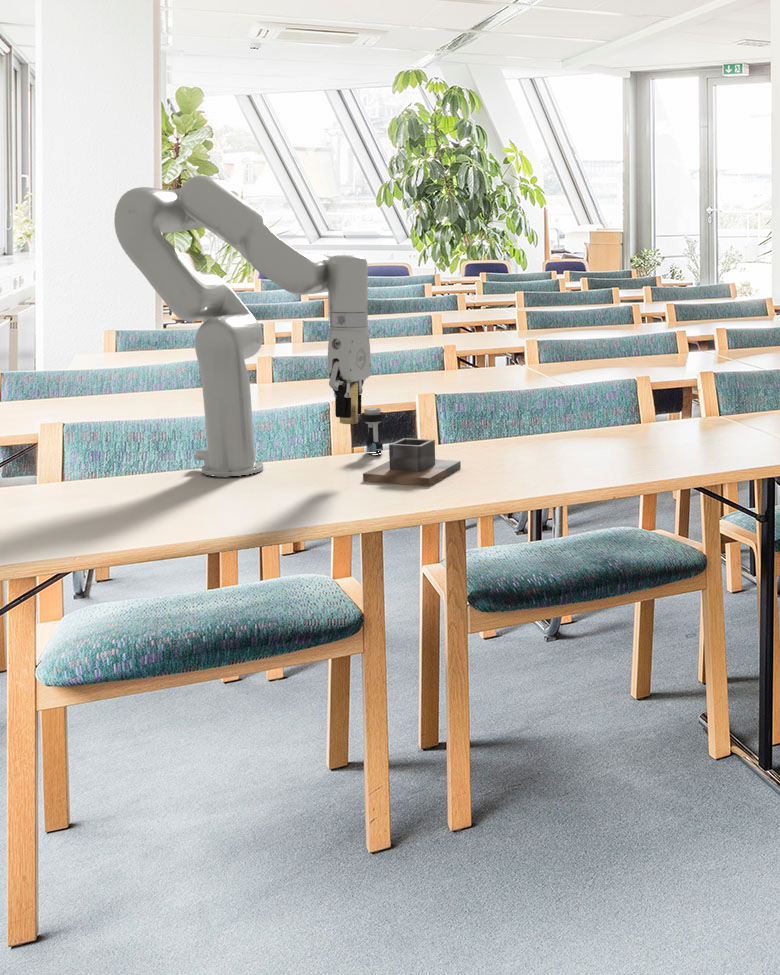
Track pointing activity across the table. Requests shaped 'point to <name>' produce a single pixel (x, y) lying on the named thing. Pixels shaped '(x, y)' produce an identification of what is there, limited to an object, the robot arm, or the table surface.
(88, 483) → the table surface
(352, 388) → the hinge pin
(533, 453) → the table surface
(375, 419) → the push button
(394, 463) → the base with square socket
